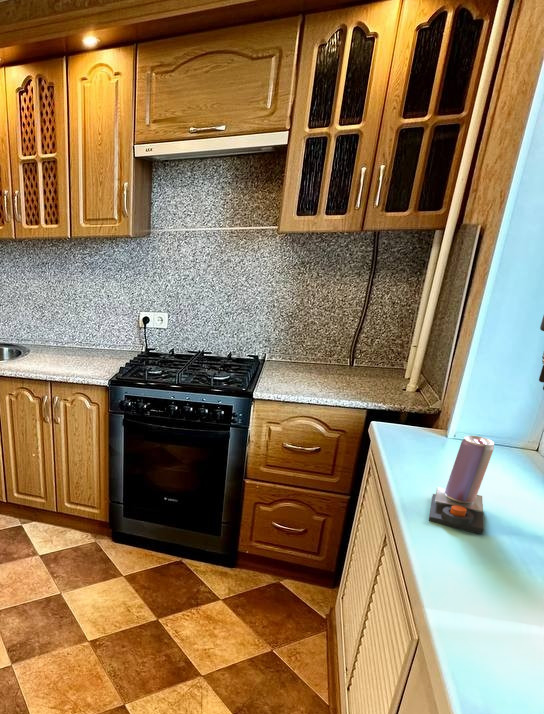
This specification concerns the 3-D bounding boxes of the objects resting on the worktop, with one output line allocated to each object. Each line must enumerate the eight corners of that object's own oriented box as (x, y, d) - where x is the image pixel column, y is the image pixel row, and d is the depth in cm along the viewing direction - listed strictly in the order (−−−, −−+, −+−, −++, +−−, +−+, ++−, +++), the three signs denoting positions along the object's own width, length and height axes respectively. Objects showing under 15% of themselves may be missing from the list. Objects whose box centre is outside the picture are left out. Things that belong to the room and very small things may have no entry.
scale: (431, 498, 132) (434, 487, 131) (481, 508, 127) (484, 497, 126) (428, 523, 121) (430, 512, 120) (482, 536, 116) (485, 524, 115)
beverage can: (450, 502, 123) (470, 443, 117) (439, 490, 128) (458, 433, 123) (479, 505, 122) (501, 446, 116) (467, 493, 127) (487, 436, 121)
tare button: (450, 510, 121) (451, 504, 121) (465, 513, 120) (466, 507, 119) (449, 515, 119) (451, 509, 119) (465, 518, 118) (466, 512, 117)
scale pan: (436, 488, 131) (437, 486, 131) (481, 497, 126) (482, 495, 126) (434, 502, 124) (435, 500, 124) (482, 512, 119) (482, 511, 119)
